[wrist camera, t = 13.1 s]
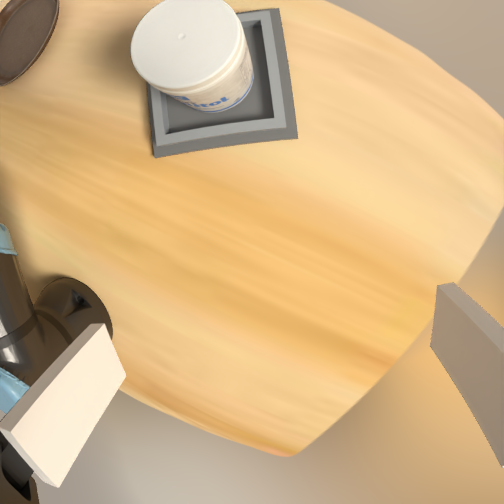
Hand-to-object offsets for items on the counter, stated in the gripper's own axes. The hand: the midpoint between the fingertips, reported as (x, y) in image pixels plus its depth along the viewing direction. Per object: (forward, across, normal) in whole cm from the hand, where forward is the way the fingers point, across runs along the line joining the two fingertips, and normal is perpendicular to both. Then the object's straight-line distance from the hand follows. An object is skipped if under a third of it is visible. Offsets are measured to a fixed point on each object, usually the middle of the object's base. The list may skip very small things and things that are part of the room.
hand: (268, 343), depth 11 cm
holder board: (+29, -5, +18) cm, 34 cm away
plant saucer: (+30, -38, +40) cm, 63 cm away
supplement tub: (+28, -4, +18) cm, 34 cm away
